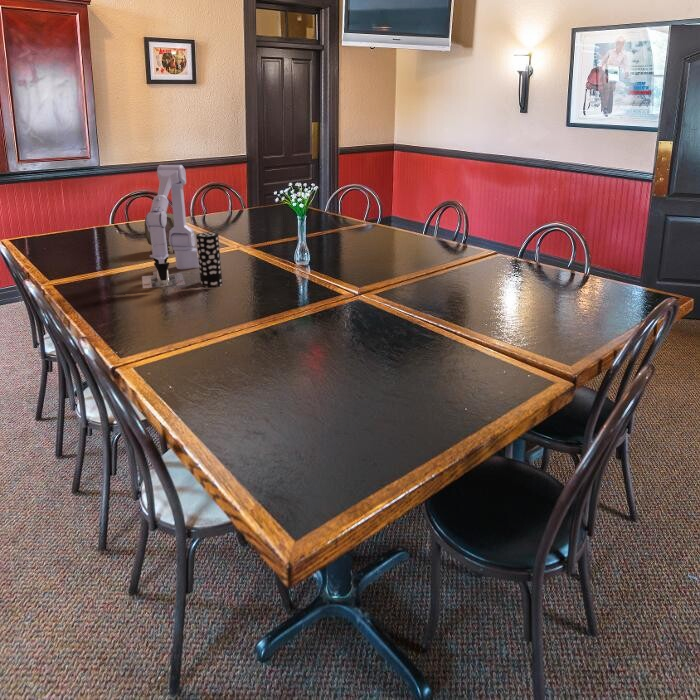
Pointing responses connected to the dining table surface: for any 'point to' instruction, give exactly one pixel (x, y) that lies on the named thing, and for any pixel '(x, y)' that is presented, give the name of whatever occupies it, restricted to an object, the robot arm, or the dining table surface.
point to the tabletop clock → (167, 228)
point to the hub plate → (153, 282)
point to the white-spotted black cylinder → (209, 259)
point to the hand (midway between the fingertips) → (163, 277)
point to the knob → (155, 273)
